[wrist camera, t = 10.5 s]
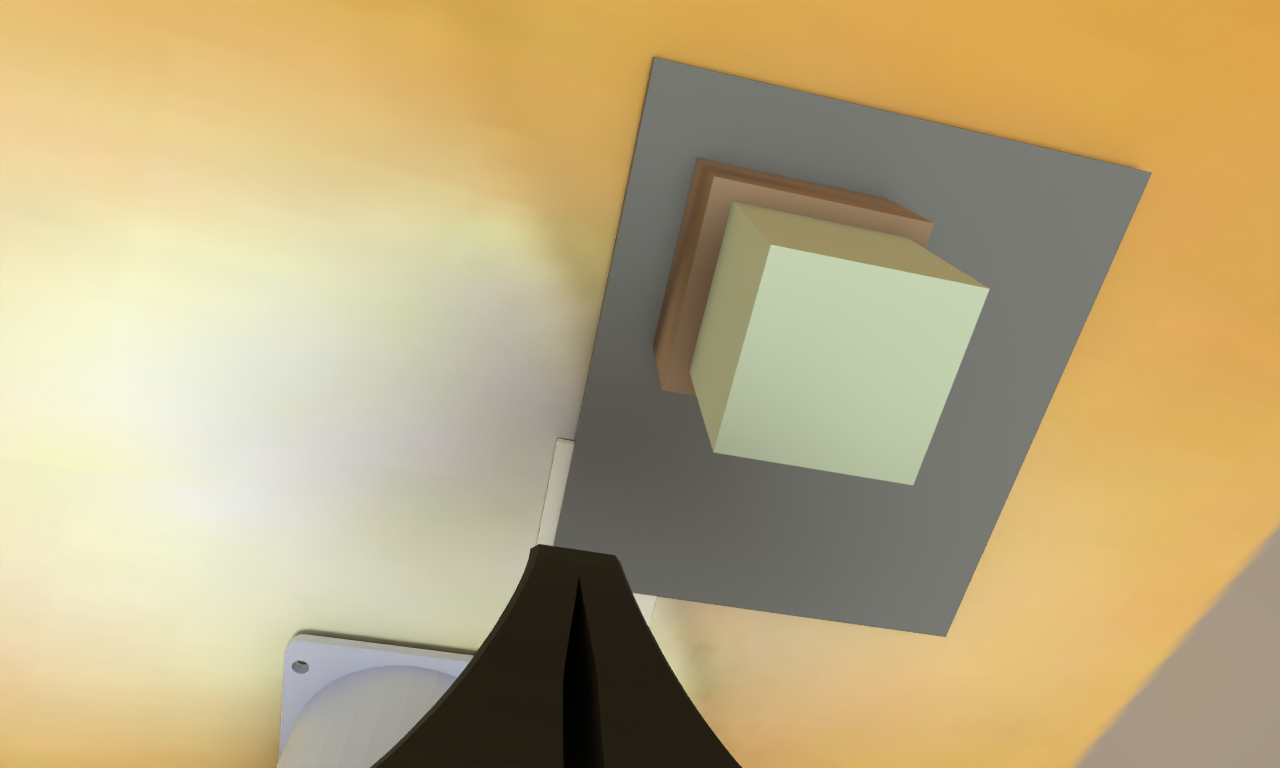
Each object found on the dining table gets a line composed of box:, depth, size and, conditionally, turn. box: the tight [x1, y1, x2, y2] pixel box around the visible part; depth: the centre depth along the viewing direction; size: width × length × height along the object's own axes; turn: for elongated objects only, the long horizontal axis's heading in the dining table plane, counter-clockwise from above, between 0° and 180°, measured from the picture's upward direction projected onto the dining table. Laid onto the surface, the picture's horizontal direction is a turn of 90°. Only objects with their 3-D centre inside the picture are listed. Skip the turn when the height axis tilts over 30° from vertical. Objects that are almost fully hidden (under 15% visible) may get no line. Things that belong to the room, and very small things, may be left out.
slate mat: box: [554, 57, 1152, 637], centre depth 23 cm, size 15×13×1 cm
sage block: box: [689, 201, 989, 485], centre depth 16 cm, size 4×4×4 cm
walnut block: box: [653, 158, 934, 396], centre depth 20 cm, size 5×5×3 cm
